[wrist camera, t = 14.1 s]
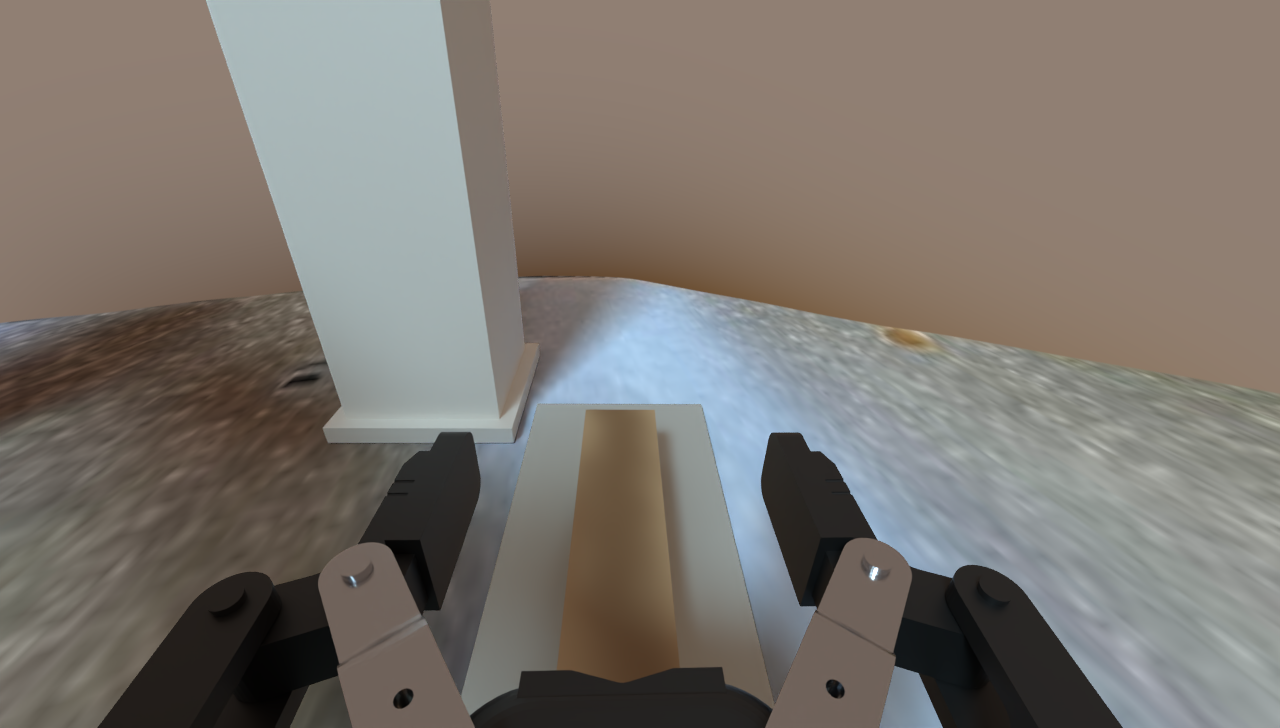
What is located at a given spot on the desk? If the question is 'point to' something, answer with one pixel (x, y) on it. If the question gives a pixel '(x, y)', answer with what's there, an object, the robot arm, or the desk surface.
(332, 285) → the shelf post
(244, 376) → the desk surface
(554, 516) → the rubber mat
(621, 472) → the oak bar
